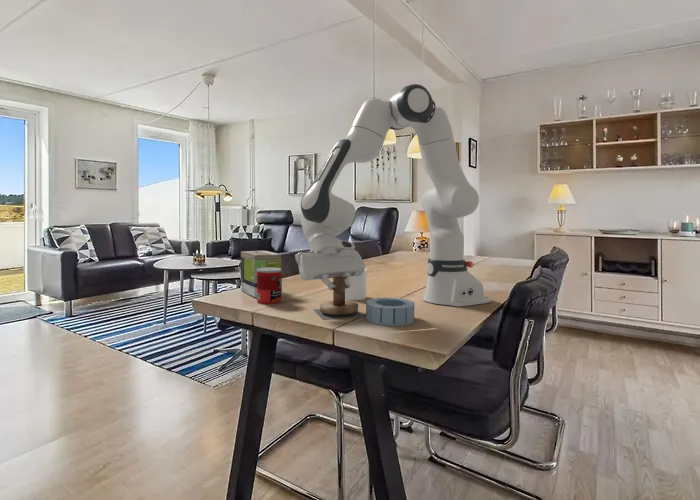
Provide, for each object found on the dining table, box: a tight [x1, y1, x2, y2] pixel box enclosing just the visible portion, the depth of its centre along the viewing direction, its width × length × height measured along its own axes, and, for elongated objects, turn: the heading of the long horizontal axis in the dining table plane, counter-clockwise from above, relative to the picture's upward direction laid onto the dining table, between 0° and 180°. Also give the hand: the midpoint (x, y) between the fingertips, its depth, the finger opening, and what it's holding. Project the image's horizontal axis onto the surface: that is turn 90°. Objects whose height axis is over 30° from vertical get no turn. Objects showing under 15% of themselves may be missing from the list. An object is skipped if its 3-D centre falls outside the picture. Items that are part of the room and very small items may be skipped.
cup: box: [345, 268, 368, 301], centre depth 143 cm, size 8×12×10 cm
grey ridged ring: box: [365, 296, 416, 327], centre depth 115 cm, size 13×13×5 cm
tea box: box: [240, 250, 282, 299], centre depth 149 cm, size 15×10×15 cm, turn 33°
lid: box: [319, 277, 359, 315], centre depth 121 cm, size 11×11×10 cm
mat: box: [313, 308, 365, 321], centre depth 121 cm, size 12×12×1 cm
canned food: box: [256, 267, 283, 305], centre depth 134 cm, size 8×8×11 cm
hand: (340, 288), depth 120 cm, fingers closed on lid, 3 cm apart
